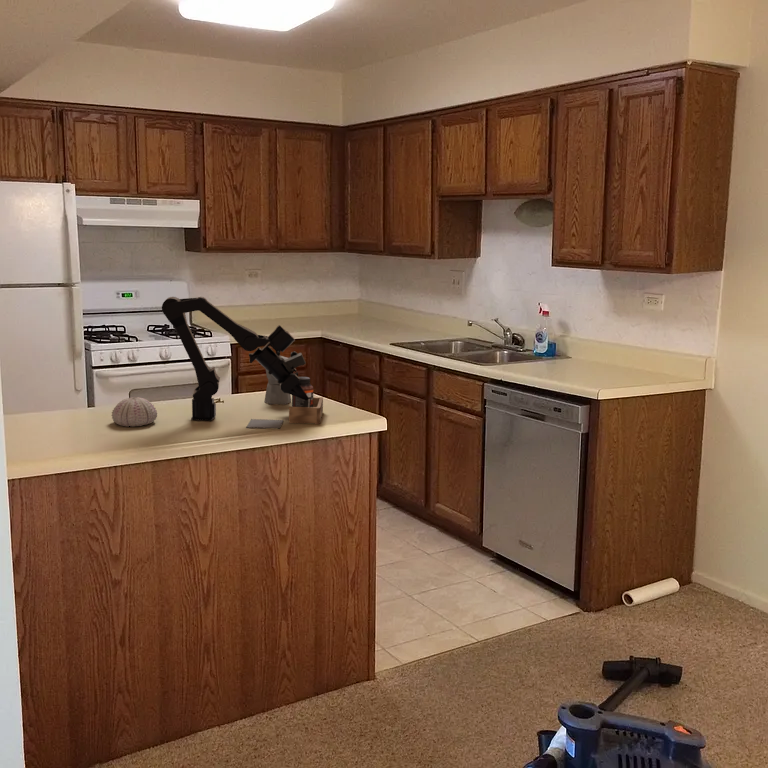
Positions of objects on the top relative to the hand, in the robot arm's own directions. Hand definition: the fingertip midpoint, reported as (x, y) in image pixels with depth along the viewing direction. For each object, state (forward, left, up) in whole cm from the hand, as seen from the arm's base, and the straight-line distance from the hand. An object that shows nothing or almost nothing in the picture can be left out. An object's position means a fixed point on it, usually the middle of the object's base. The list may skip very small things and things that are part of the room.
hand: (307, 397), depth 264 cm
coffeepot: (-12, +23, -7) cm, 27 cm away
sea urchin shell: (-51, -13, -7) cm, 53 cm away
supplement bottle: (-1, 0, -7) cm, 7 cm away
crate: (0, 0, -7) cm, 7 cm away
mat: (-12, -11, -7) cm, 17 cm away
